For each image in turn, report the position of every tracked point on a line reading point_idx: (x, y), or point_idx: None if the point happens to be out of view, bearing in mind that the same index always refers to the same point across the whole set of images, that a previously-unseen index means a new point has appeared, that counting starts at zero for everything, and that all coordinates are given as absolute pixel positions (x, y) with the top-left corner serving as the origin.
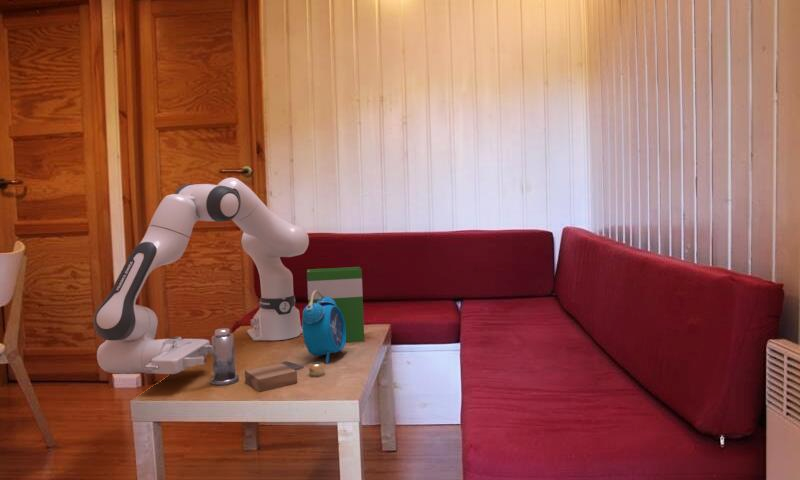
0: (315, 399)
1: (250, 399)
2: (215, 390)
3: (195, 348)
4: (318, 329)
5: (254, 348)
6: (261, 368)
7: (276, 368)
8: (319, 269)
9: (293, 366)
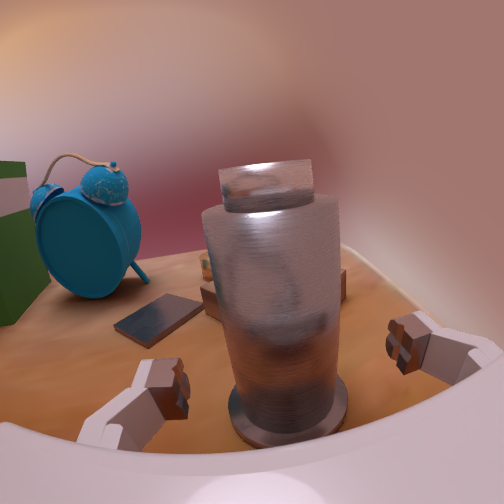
0: (340, 246)
1: (390, 289)
2: (387, 376)
3: (295, 445)
4: (127, 216)
5: None
6: None
7: None
8: None
9: (165, 304)
